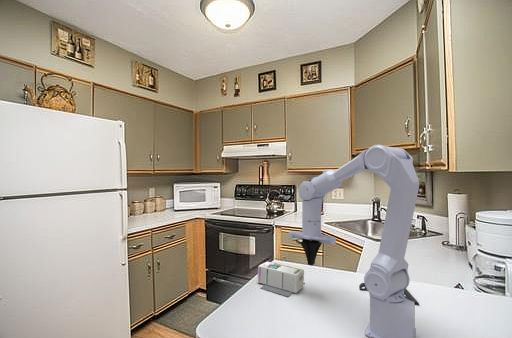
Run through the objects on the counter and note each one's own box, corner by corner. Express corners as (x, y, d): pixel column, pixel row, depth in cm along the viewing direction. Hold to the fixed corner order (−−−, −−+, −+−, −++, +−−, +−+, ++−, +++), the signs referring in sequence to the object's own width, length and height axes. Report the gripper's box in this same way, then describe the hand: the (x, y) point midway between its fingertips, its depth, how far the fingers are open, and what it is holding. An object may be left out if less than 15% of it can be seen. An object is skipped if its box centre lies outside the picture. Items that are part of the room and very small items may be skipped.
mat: (304, 283, 88) (304, 282, 88) (288, 297, 78) (288, 296, 78) (278, 276, 94) (278, 275, 94) (260, 288, 84) (260, 287, 84)
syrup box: (297, 274, 80) (257, 264, 88) (296, 294, 80) (256, 282, 88) (304, 269, 85) (266, 260, 93) (303, 288, 84) (265, 277, 92)
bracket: (355, 282, 91) (355, 274, 91) (401, 286, 88) (401, 278, 89) (364, 302, 77) (364, 293, 77) (419, 308, 74) (419, 298, 74)
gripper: (284, 219, 81) (284, 263, 81) (330, 225, 73) (330, 273, 73) (294, 216, 87) (294, 257, 87) (338, 221, 79) (337, 266, 79)
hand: (311, 264), depth 80 cm, fingers closed
